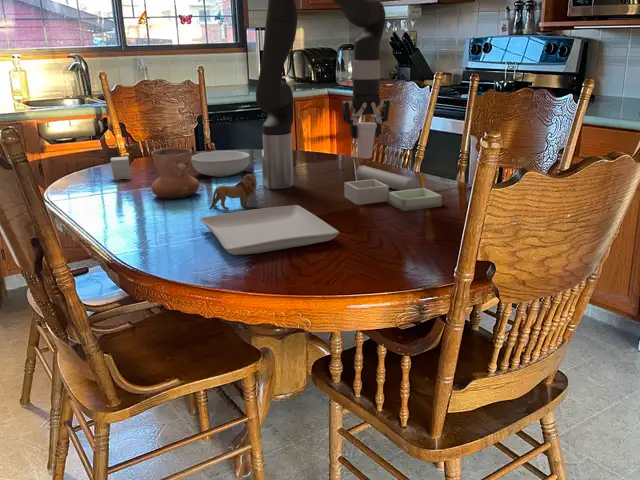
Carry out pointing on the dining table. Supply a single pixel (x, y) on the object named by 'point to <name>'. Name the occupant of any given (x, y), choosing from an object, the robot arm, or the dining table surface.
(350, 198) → the hollow square frame
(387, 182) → the tube
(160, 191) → the ceramic jug
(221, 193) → the lion figurine
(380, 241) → the dining table surface
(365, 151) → the smoothie
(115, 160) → the skincare box
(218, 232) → the square plate
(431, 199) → the tray
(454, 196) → the dining table surface
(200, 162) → the serving bowl
